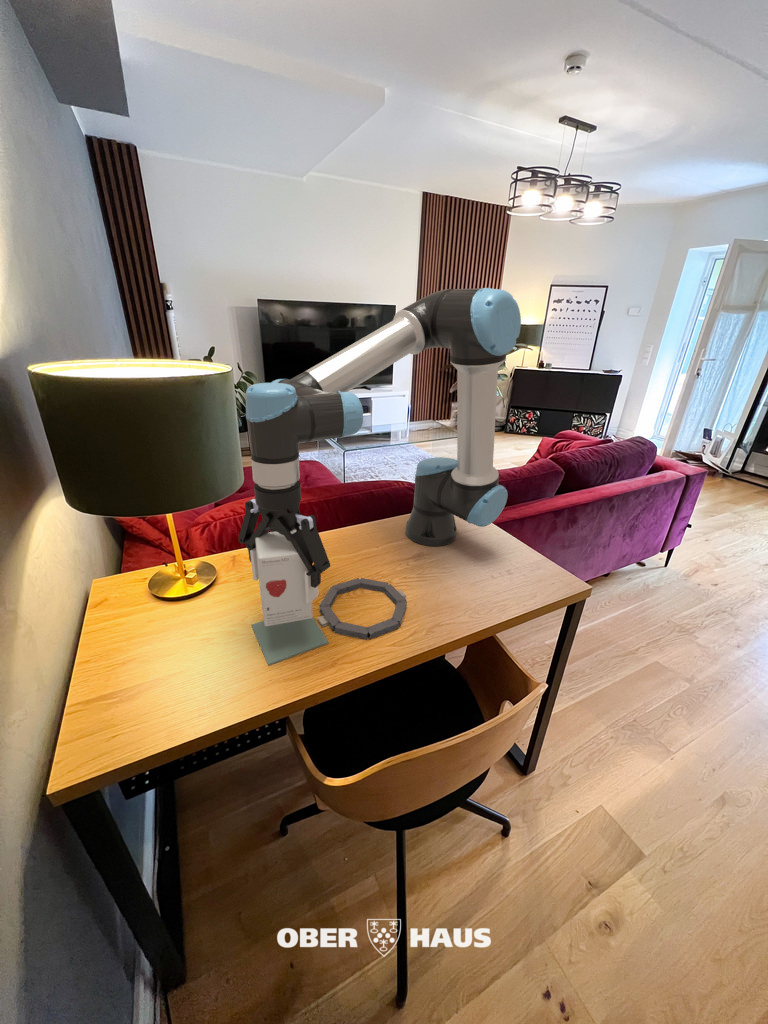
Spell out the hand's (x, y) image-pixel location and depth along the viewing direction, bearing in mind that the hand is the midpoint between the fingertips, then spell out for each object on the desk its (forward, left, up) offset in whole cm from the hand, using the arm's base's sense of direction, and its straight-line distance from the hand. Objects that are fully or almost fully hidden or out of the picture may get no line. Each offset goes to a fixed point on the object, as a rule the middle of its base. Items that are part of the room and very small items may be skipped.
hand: (285, 587), depth 77 cm
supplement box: (0, 0, -5) cm, 5 cm away
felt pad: (0, 0, -12) cm, 12 cm away
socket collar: (-17, 0, -12) cm, 21 cm away
